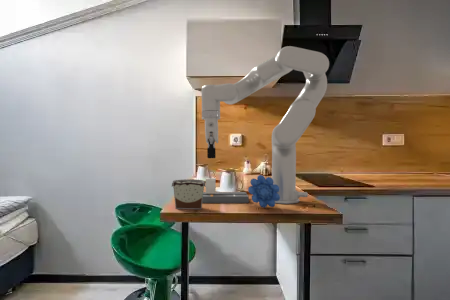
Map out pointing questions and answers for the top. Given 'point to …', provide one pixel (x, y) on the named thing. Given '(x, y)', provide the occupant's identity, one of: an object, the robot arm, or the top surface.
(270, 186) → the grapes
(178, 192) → the food container
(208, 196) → the fader base
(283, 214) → the top surface
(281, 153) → the robot arm
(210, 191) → the fader tab
